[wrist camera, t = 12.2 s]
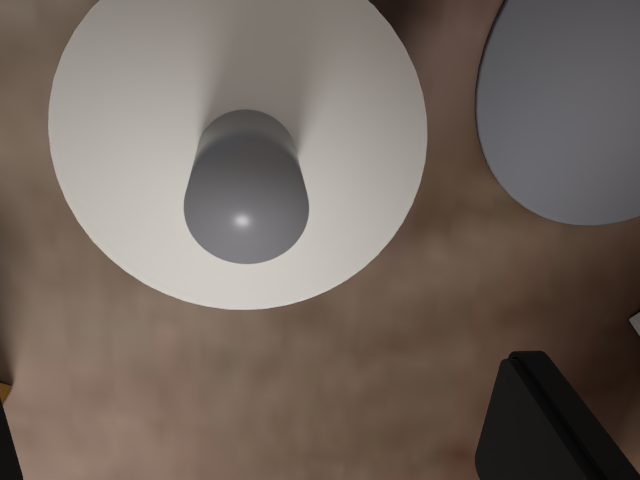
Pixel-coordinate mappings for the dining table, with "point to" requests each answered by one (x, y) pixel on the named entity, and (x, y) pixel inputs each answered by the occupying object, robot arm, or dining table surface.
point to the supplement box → (636, 322)
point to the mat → (564, 107)
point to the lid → (238, 143)
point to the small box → (4, 392)
